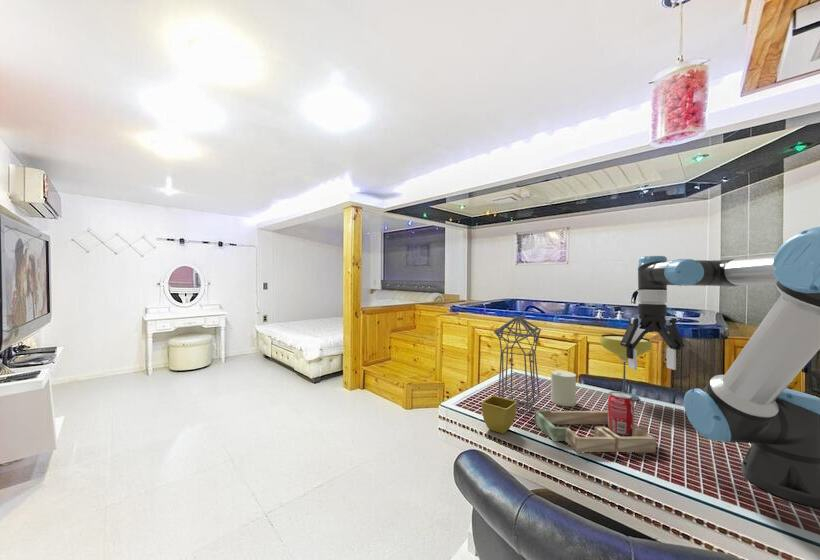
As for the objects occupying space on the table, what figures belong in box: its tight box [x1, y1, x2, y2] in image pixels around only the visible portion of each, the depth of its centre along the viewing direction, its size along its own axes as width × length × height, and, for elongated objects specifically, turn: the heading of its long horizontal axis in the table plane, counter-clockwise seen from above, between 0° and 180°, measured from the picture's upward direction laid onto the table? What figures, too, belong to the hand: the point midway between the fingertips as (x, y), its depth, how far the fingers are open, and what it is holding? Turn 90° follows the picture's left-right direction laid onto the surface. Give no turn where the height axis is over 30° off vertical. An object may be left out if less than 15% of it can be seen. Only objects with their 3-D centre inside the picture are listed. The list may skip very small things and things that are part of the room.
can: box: [550, 369, 577, 407], centre depth 127 cm, size 9×9×12 cm
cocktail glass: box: [599, 333, 652, 402], centre depth 134 cm, size 18×18×25 cm
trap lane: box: [533, 409, 657, 454], centre depth 99 cm, size 19×29×4 cm, turn 93°
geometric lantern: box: [493, 316, 542, 414], centre depth 121 cm, size 16×16×35 cm
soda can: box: [607, 390, 635, 436], centre depth 102 cm, size 7×7×12 cm
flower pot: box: [481, 395, 518, 434], centre depth 102 cm, size 9×9×9 cm
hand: (651, 368), depth 103 cm, fingers open, 12 cm apart
